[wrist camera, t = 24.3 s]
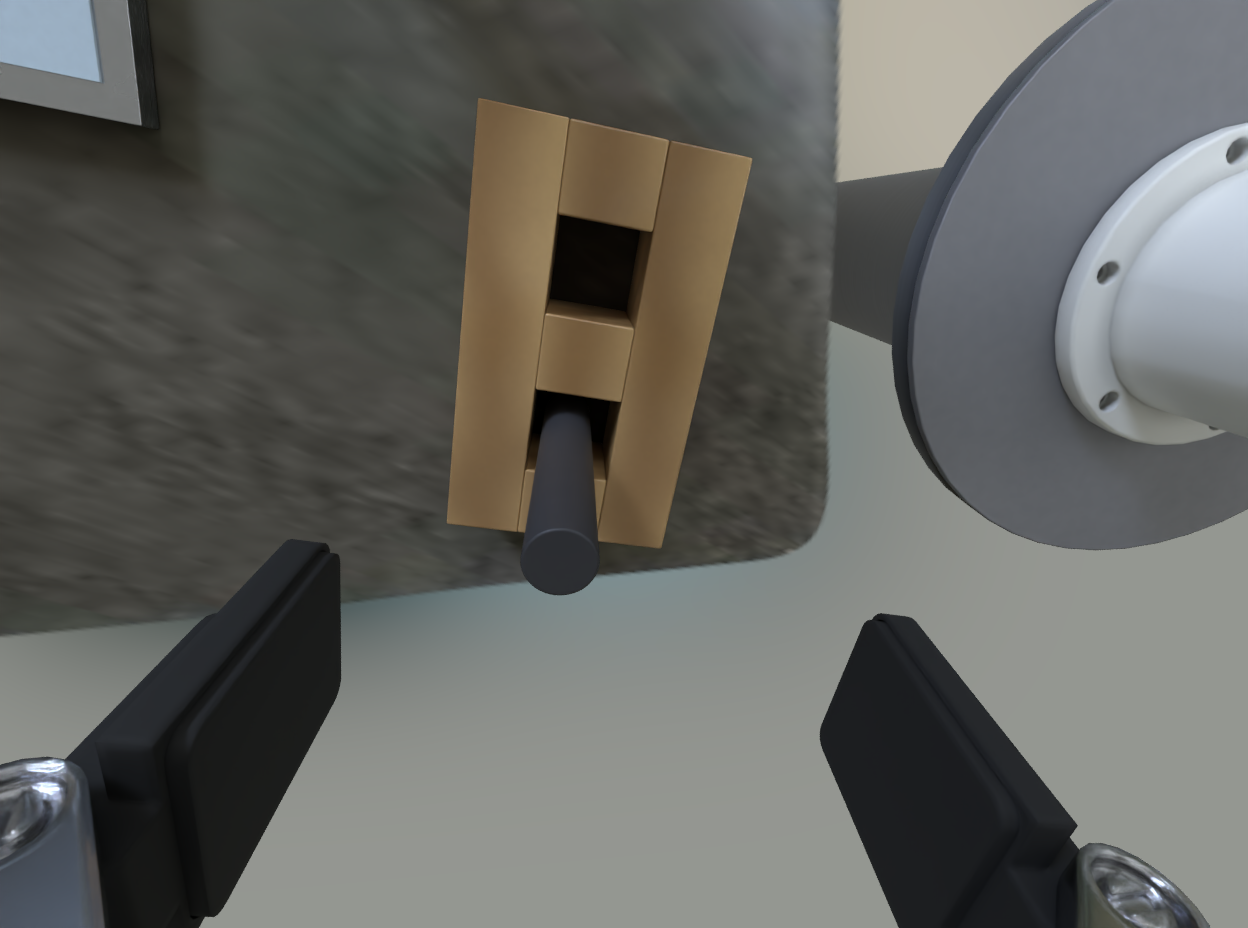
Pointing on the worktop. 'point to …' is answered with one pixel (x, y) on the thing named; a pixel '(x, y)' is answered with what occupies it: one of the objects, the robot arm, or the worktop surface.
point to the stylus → (562, 502)
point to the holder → (586, 312)
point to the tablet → (79, 58)
